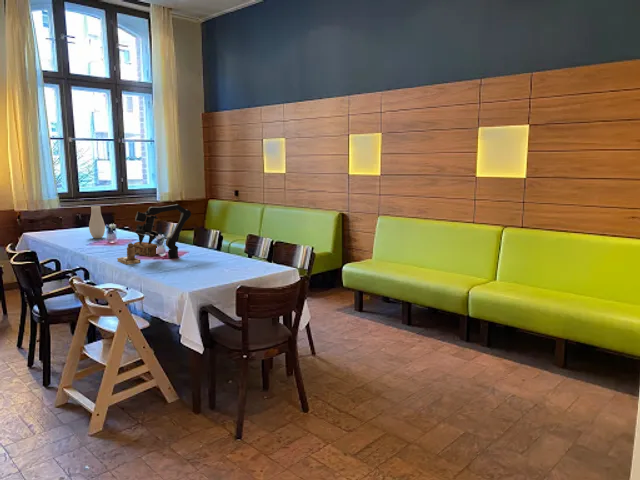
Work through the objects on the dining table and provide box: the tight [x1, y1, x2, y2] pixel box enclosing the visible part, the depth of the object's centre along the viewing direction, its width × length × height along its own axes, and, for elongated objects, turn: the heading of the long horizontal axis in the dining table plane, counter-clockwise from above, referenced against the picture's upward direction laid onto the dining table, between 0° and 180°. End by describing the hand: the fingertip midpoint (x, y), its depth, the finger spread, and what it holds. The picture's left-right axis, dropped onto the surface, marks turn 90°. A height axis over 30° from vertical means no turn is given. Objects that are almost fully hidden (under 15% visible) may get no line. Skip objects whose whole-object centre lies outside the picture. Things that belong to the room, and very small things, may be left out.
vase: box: [88, 205, 106, 239], centre depth 457 cm, size 14×14×30 cm
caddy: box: [117, 256, 141, 266], centre depth 351 cm, size 10×16×3 cm, turn 43°
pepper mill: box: [126, 242, 136, 261], centre depth 347 cm, size 5×5×14 cm
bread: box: [132, 241, 157, 257], centre depth 381 cm, size 19×11×10 cm, turn 64°
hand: (144, 244), depth 359 cm, fingers open, 9 cm apart
